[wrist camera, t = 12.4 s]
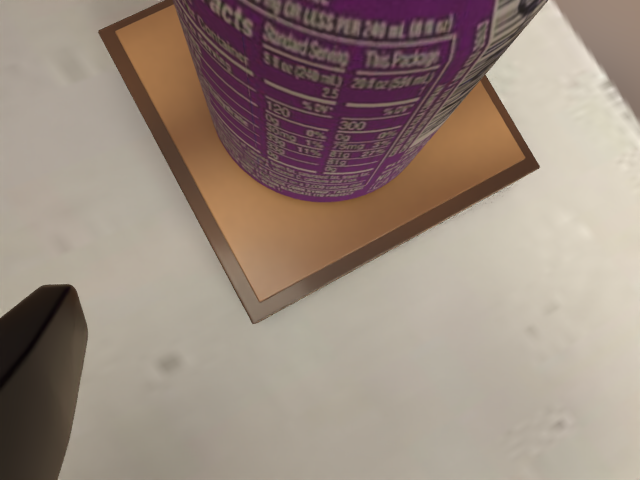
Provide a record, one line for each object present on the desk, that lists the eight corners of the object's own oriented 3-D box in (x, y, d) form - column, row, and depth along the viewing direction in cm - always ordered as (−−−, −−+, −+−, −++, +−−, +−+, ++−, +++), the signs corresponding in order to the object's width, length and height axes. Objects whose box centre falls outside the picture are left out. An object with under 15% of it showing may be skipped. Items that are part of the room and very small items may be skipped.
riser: (510, 184, 22) (546, 163, 19) (256, 323, 20) (252, 324, 18) (371, -53, 23) (385, -109, 20) (118, 64, 21) (93, 24, 18)
